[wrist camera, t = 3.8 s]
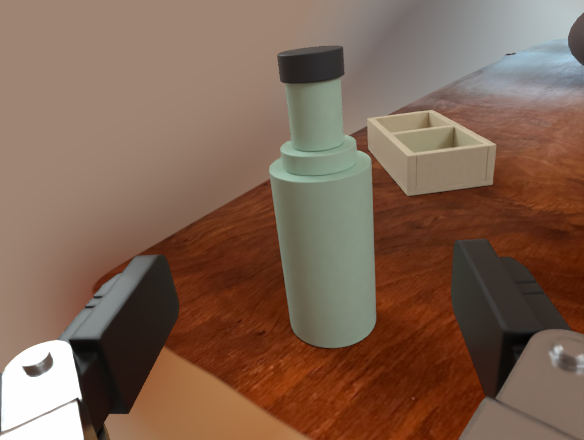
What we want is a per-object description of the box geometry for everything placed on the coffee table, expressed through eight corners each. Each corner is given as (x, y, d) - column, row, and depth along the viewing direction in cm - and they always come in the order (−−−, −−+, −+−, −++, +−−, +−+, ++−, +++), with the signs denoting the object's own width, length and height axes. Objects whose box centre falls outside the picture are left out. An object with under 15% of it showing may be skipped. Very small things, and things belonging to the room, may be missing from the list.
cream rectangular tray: (407, 196, 41) (407, 156, 39) (368, 149, 55) (367, 118, 53) (492, 185, 41) (496, 144, 39) (431, 141, 55) (432, 109, 54)
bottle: (294, 354, 24) (252, 63, 17) (287, 298, 29) (253, 52, 22) (386, 341, 24) (381, 47, 17) (365, 288, 29) (354, 39, 22)
